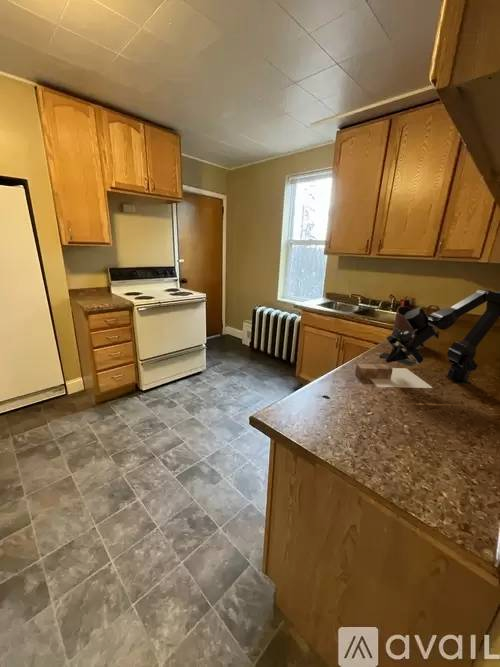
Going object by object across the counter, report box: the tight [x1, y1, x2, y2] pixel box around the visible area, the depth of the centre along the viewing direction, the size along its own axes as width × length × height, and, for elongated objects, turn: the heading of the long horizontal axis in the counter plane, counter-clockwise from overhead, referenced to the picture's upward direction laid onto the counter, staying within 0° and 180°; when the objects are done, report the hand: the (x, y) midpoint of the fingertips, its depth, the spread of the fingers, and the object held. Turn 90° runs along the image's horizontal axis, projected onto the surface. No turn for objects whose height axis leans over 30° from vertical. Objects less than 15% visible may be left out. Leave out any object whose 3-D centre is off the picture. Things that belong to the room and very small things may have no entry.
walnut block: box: [354, 363, 393, 380], centre depth 115 cm, size 4×4×13 cm
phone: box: [378, 352, 417, 367], centre depth 136 cm, size 8×1×15 cm
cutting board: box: [369, 367, 434, 389], centre depth 116 cm, size 22×18×1 cm
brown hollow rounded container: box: [391, 304, 441, 350], centre depth 156 cm, size 18×24×25 cm
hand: (386, 361), depth 114 cm, fingers closed
